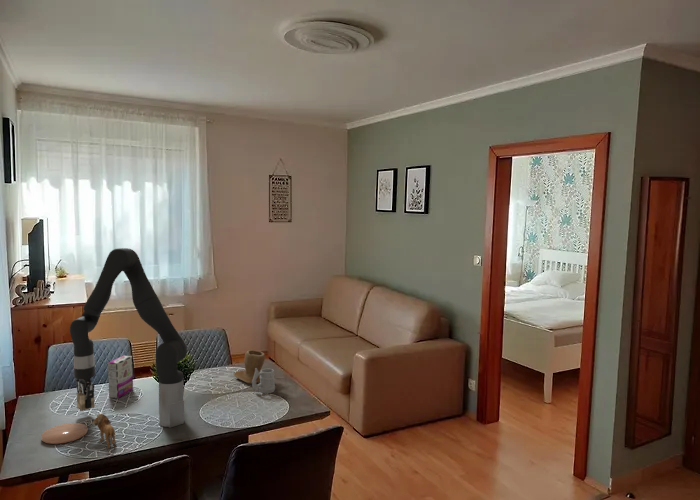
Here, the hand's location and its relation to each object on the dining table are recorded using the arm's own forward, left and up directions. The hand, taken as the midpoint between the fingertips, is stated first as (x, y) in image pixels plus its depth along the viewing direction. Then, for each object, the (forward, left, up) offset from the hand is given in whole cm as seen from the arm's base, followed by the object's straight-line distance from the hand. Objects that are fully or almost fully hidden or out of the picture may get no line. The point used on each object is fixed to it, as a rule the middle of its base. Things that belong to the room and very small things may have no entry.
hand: (85, 405), depth 205 cm
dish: (-14, +12, -4) cm, 19 cm away
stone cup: (-11, -74, -4) cm, 75 cm away
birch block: (0, 0, -1) cm, 1 cm away
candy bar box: (+14, -20, -4) cm, 25 cm away
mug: (-28, -69, -4) cm, 74 cm away
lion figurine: (-29, +3, -4) cm, 29 cm away
